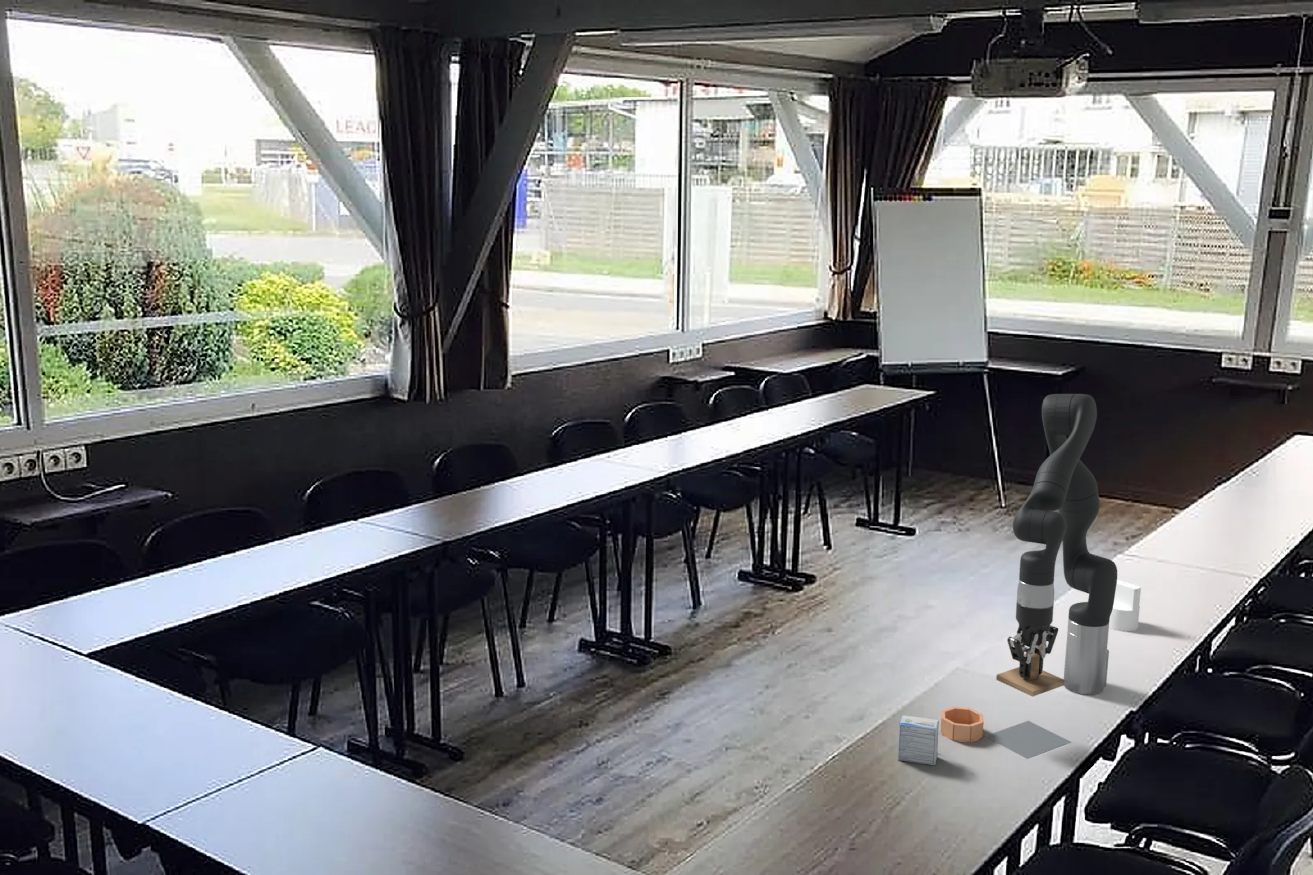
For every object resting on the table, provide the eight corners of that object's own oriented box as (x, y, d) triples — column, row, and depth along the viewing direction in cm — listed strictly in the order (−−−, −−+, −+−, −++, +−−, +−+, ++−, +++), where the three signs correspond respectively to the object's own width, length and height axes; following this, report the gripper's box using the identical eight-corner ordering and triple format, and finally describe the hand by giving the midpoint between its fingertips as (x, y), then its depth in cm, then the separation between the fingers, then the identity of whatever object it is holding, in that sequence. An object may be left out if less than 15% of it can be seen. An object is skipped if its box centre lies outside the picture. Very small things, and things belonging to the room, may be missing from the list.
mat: (1028, 722, 270) (1028, 720, 270) (1071, 744, 260) (1071, 741, 260) (984, 738, 262) (984, 736, 262) (1026, 760, 253) (1027, 758, 252)
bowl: (960, 722, 270) (961, 704, 269) (990, 738, 263) (992, 719, 262) (931, 732, 266) (932, 713, 265) (961, 748, 258) (962, 729, 257)
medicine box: (937, 756, 254) (939, 719, 252) (935, 766, 250) (937, 728, 248) (900, 751, 257) (901, 714, 255) (897, 760, 253) (899, 723, 251)
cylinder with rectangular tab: (1144, 626, 325) (1148, 585, 322) (1124, 633, 320) (1128, 591, 317) (1115, 616, 332) (1119, 575, 330) (1095, 623, 327) (1099, 582, 325)
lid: (1027, 668, 264) (1029, 642, 263) (1064, 685, 256) (1066, 658, 254) (996, 679, 259) (997, 653, 258) (1032, 696, 251) (1034, 669, 249)
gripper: (1043, 588, 260) (1039, 662, 264) (998, 602, 252) (994, 677, 256) (1071, 598, 253) (1066, 674, 257) (1026, 612, 246) (1021, 690, 250)
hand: (1030, 675), depth 257 cm, fingers closed on lid, 3 cm apart
